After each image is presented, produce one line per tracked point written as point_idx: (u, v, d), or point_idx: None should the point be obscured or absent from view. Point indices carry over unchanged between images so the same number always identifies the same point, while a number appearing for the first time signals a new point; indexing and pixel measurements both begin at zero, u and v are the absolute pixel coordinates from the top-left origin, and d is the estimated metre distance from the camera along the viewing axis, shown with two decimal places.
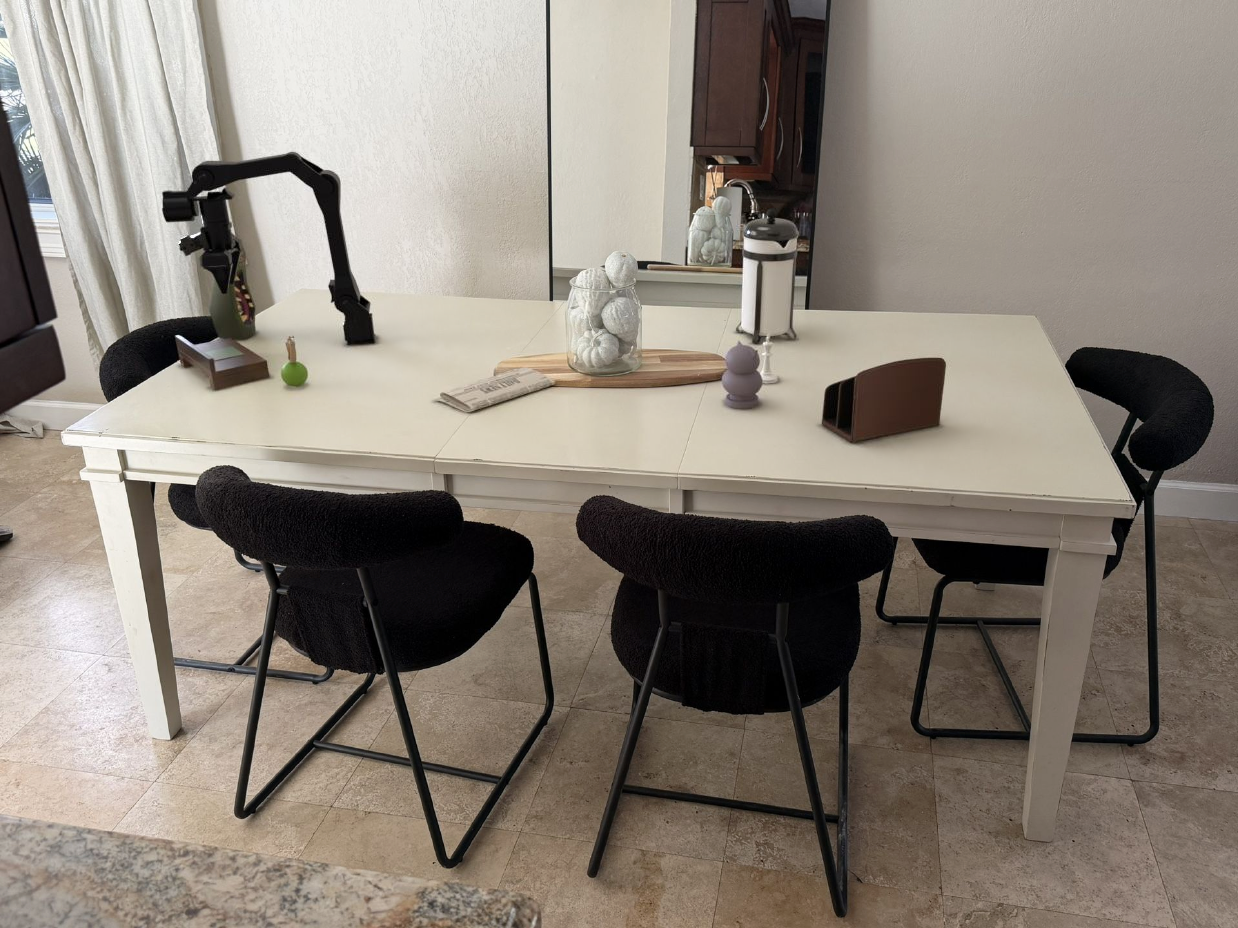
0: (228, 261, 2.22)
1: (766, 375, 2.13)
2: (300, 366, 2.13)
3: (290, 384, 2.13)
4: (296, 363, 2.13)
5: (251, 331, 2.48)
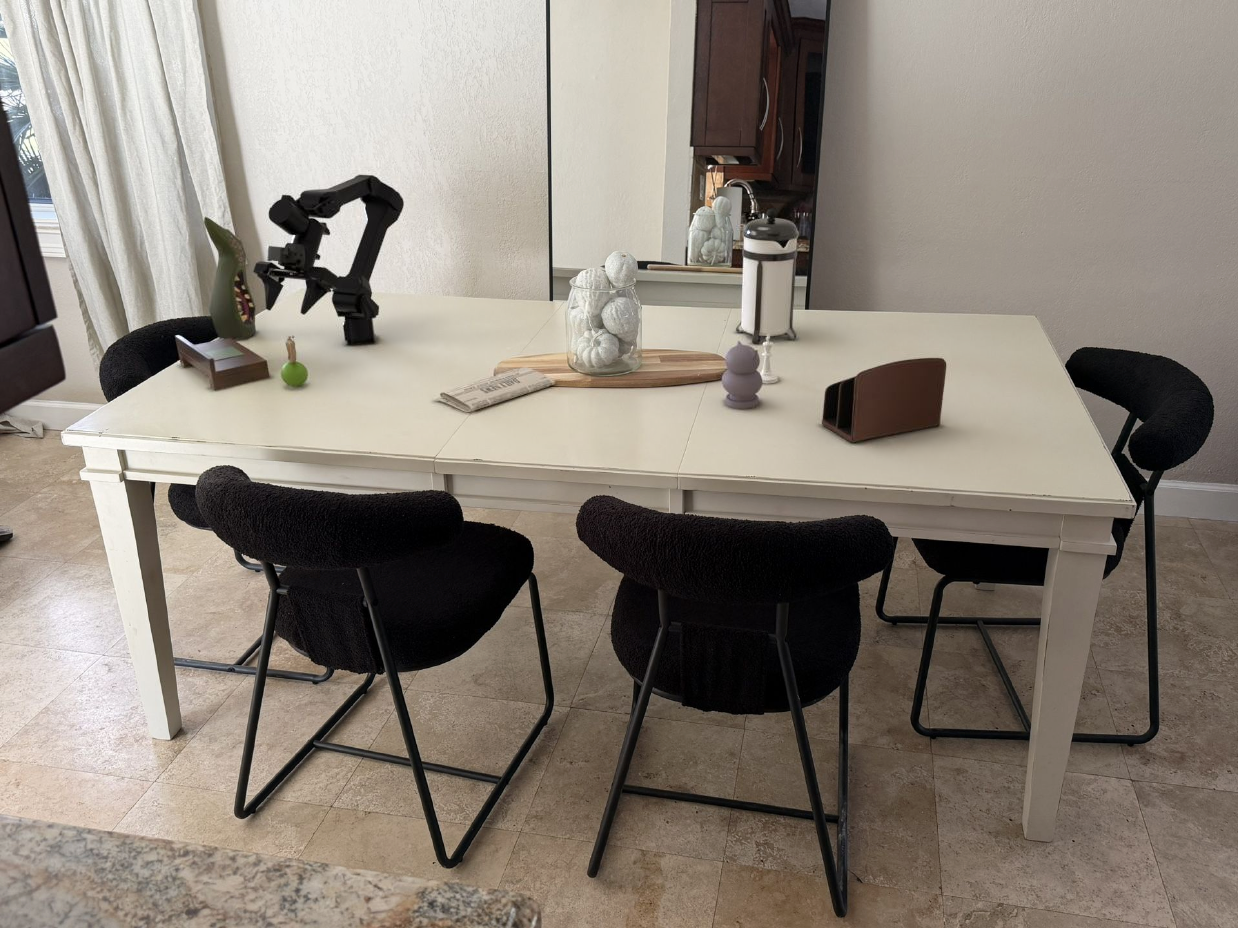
0: None
1: (766, 375, 2.13)
2: (300, 366, 2.13)
3: (290, 384, 2.13)
4: (296, 363, 2.13)
5: (251, 331, 2.48)
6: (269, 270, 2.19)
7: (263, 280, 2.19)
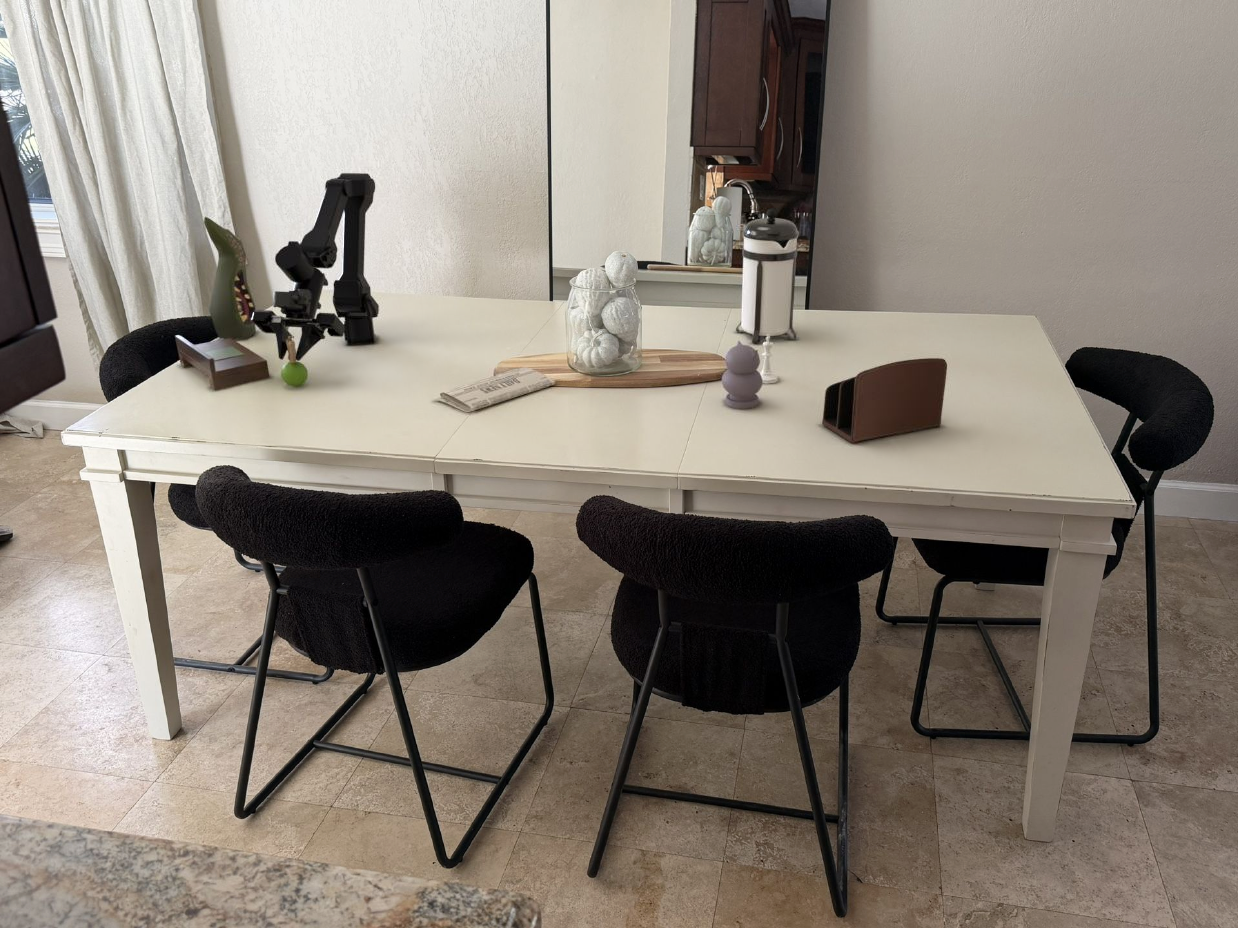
0: None
1: (766, 375, 2.13)
2: (300, 366, 2.13)
3: (290, 384, 2.13)
4: (296, 363, 2.13)
5: (251, 331, 2.48)
6: (281, 319, 2.12)
7: (275, 328, 2.12)
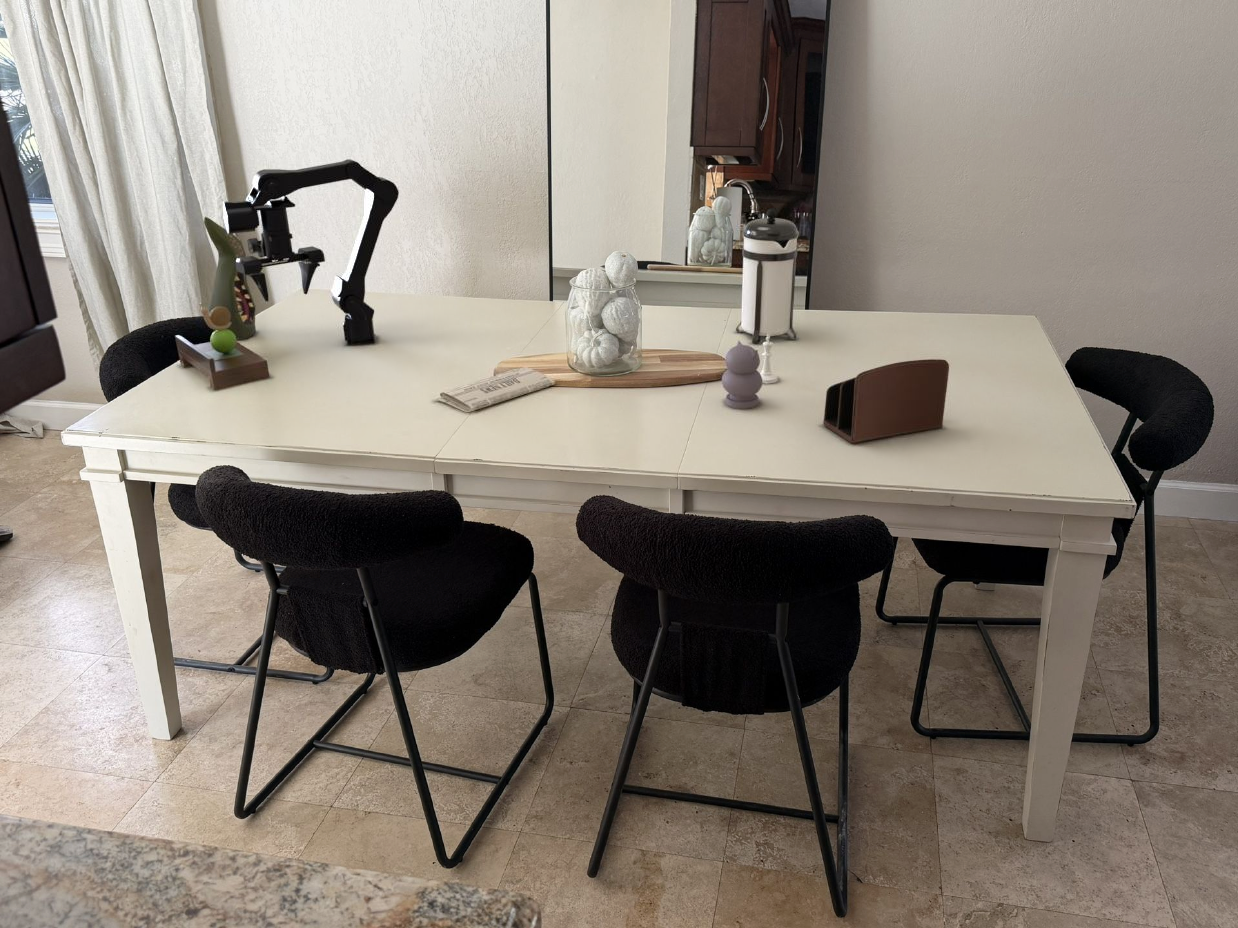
0: (246, 271, 2.21)
1: (766, 375, 2.13)
2: (218, 335, 2.20)
3: None
4: (219, 331, 2.21)
5: (251, 331, 2.48)
6: None
7: None
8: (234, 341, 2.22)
